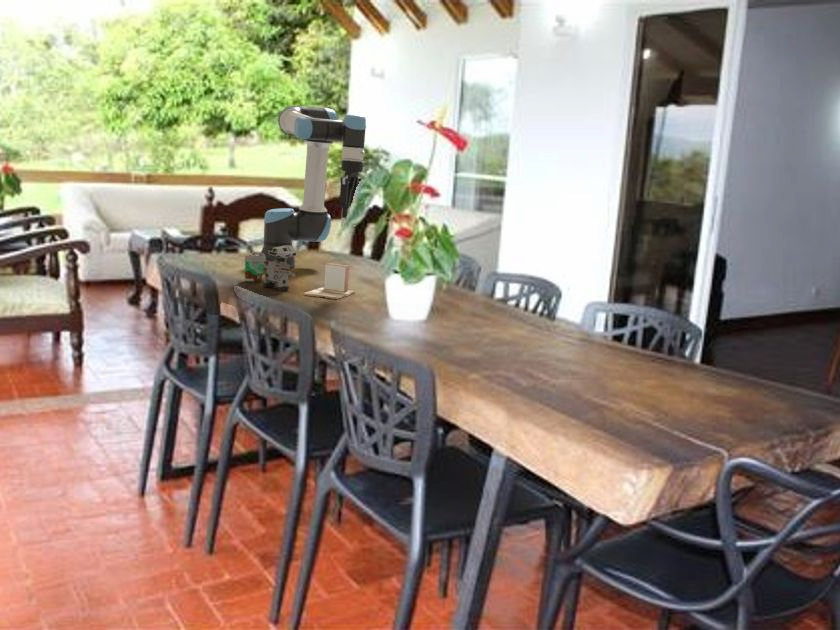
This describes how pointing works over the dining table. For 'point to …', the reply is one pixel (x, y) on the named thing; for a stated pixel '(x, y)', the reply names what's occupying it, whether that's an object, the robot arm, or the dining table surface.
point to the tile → (336, 277)
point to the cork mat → (328, 293)
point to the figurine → (279, 267)
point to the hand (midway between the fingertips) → (348, 226)
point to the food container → (254, 267)
